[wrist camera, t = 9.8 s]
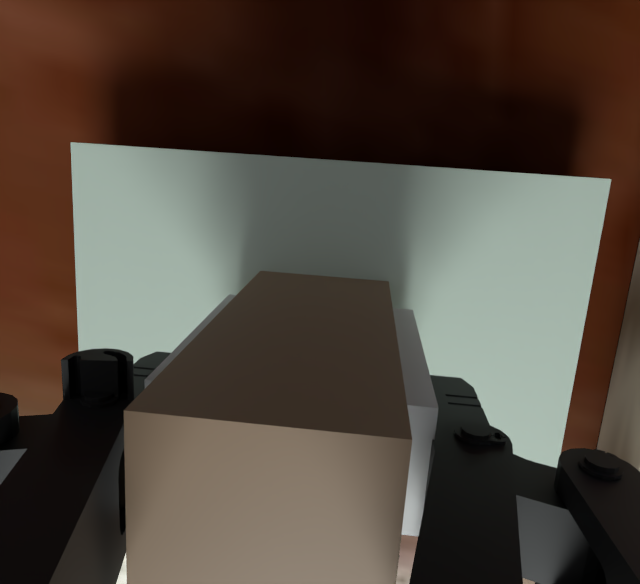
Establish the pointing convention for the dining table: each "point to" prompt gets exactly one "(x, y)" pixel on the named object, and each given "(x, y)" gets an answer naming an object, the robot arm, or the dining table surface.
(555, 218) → the cover plate
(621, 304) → the dining table surface
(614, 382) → the birch box
